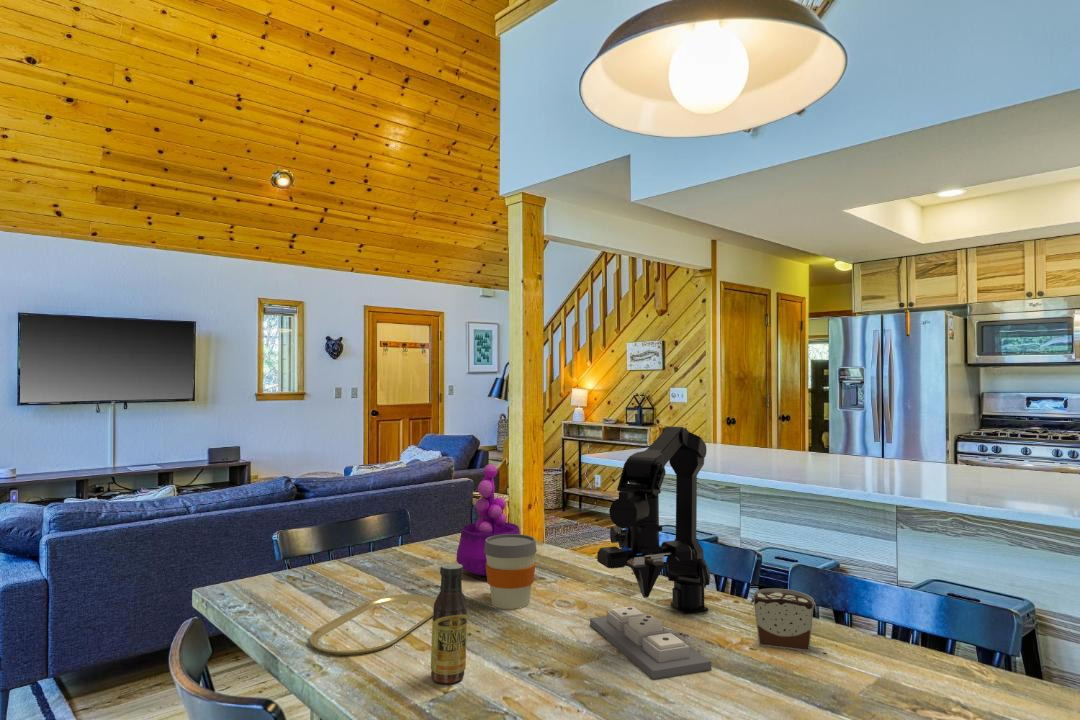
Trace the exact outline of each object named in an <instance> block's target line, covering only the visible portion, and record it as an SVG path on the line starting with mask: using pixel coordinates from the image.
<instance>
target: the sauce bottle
mask: <svg viewBox="0 0 1080 720" xmlns="http://www.w3.org/2000/svg"><path fill="white" fill-rule="evenodd" d="M439 569H440V570H439V573H440V588H439V589H440V591H439V594H437V596H436V599H435V600H436V601H435V603H434V610H433V609H432V612H433V611H434V614H433V616H432V620H431V621H432V624H431V626H432V627H431V648H430V650H431V652H430V670H431V672H430V673H431V674H430V678H431V679H432V681H433V682H436V683H438V684H455V683H456V682H460V681H461V680H463V678H464V676H465V670H466V669H467V668H466V665H467V636H468V635H467V634H468V633H467V632H468V631H467V630H468V629H467V628H468V606H467V605H468V604H467V598H466V596H465V595H464V593H463V591H462V589H463V587H462V581H463V580H462V579H463V578H462V576H463V573H464V570H463V566H462V565H461V564H458V562H457V563H455V562H450V563H443V564H442V565H440V568H439Z"/></svg>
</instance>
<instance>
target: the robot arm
mask: <svg viewBox="0 0 1080 720" xmlns="http://www.w3.org/2000/svg"><path fill="white" fill-rule="evenodd" d="M707 452H708V451H707V445H706V442H705V441H704V440H703V438H702V437H701V436H699V435H697V434H695V433H693V432H690V431H689V430H688V428H686V427H684V426H670V425H668V426H665V427H663V428H662V431H661V434H659V436H658V437H656V439H655V440H654V441H653V442H652V443H651V444H650V445H649V447H648V448H647V449H645V450H641V451H638V452H637V451H636V452H635V453H633V454H631V455H630V456H628V457H627V459H626V461H625V462H624V464H623V466H622V472H621V473H620V478H619V482H618V485H617V492H618V498H616V499H614V501H613V502H611V504H610V507H609V509H608V511H609V517H610V520H611V521H612V523H613V524H614V525H615V526H611V527H610V528H609V538H610V542H611V544H617V543H618V546H616V545H615V546H605V547H599V550H598V551H597V553H596V554H597V555H596V556H597V557H596V559H597V563H598V564H599V563H600V564H601V565H602V566H604V567H605V568H607V569H620V568H621V569H623V568H625V566H627V567H629V568H630V569H631V571H632V573H633V574H634V576H635V577H634V578H635V579H636V582H637V585H638V587H639V591H640V593H641V597H642V598H643V599H644V598H645V599H646V598H649V597H650V595H651V592H652V591H653V588H654V585H655V584H656V582H657V580H658V578H659V576H660V574H661V573H662V571H663V569H664V568H666V573H667V579H668V581H669V582H673V587H672V596H671V597H672V602H670V606H671V607H673V608H674V609H676V610H677V611H679V612H681V613H682V614H691V613H692V614H694V613H699V612H707V611H709V607H707V606H705V586H710V585H711V571H710V569H709V566H708V564H707V561H706V560H705V555H704V553H705V552H704V549H703V546H702V545H701V544H700V542H699V540H698V539H697V525H698V524H697V522H698V521H697V510H698V508H697V507H698V504H697V503H698V499H697V498H698V497H697V495H698V493H697V492H698V483H697V482H698V474H699V473H700V471H701V469H702V468H703V466H704V464H705V458H706V456H707ZM668 462H669V466H670V467H671V469H672V471H673V472H674V473H675V478H676V480H675V483H676V484H675V485H676V486H675V490H676V491H675V539H674V540H669V541H663V542H662V543H661V545H660V532H663V525H661V524H660V511H659V509H660V507H659V504H660V502H659V501H660V500H659V498H660V497H659V495H660V494H661V493H662V490H661V489H662V488H661V487H662V484H663V481H664V479H665V476H666V468H665V466H666V465H667V463H668ZM621 548H626V549H628V550H623V549H621ZM664 557H666V561H664V560H665V559H664Z"/></svg>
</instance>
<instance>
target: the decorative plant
mask: <svg viewBox="0 0 1080 720" xmlns="http://www.w3.org/2000/svg"><path fill="white" fill-rule="evenodd" d="M482 472H483V475H484V476H485V477H483V478H482V480H480V482H479V484H478V486H477V492H478V494H479V495H480V496H481V497H482V498H481V497H480V498H479V499H477V500H476V502H475V508H476V510H477V513H478V515H479V516H480V517H479V519H478V520H476V522H473V523H469V524H465V525H463V526H462V528H461V531H460V536H459V537H460V539H459V544H458V547H457V551H456V561H455V562H457V564H461V565H462V566H463V571H466V572H468V573H471V574H473V575H478V576H483V577H484V576H486V577H487V573H486V565H485V564H486V562H487V559H486V554H485V553H484V549H485V540H486V539H487V538H489V537H491V536H495V535H502V534H521V532H520V527H519V525H518V524H515V523H512V522H507V519H508V518H507V515H506V514H505V513H503V510H505V508H506V506H507V502H506V500H505V499H504V498H503V497H495V491H496V489H495V488H496V487H495V486H496V485H495V481H494V477H495V478H496V476H497V474H498V469H497V465H494V464H491V463H490V464H486V465H485V466H484V468H483V471H482Z"/></svg>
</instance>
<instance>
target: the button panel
mask: <svg viewBox="0 0 1080 720" xmlns="http://www.w3.org/2000/svg"><path fill="white" fill-rule="evenodd" d="M645 615H646V614H644V616H645ZM589 625H591V626H590V627H592V629H594V630H595V629H596V630H597V631H598V632H597V631H596V630H595V631H596V632H597V633H599V635H601V634H602V635H601V636H602V637H603V636H604V637H605V638H604V637H603V638H604V639H606V640H607V641H608V642H609V641H610V642H611V643H612V644H613V645H612V644H611V643H610V642H609V643H610V644H611V645H612V646H614V647H615V648H616V649H617V650H618V649H619V650H620V651H619V650H618V651H619V652H621V654H623V655H624V656H625V657H626V656H627V657H626V658H628V659H629V660H630V661H631V662H632V663H633V664H634V665H636V666H637V667H638V668H639V669H640V670H641V671H643V672H644V673H645V674H646V675H647V676H648V677H649V678H651V679H652V680H658V679H660V680H661V679H665V678H670V677H675V676H676V675H677V676H683V675H687V674H693V673H694V672H695V673H699V672H705V671H711V670H712V661H711V659H708V658H707V657H706V656H704V655H703V654H701V653H700V652H699V651H697V650H695V649H694V648H693V647H691V646H690V645H688V643H685V642H684V647H678V648H671V649H665V650H659V649H658V648H656V647H655V646H654V645H652V644H651V643H650V642H649V641H648V636H652V635H659V634H666V633H671V632H669V631H668V630H667V629H666V628H664V627H663V631H662V632H655V633H648V634H641V635H639V634H638V633H637V632H635V631H634V630H633V629H631V628H630V627H629V620H624V621H621V620H620V619H618V618H617V617H616V616H614V615H613V614H612V610H609V611H607V612H606V615H605V616H598V617H596V616H595V617H590V618H589ZM681 674H682V675H681Z"/></svg>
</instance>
